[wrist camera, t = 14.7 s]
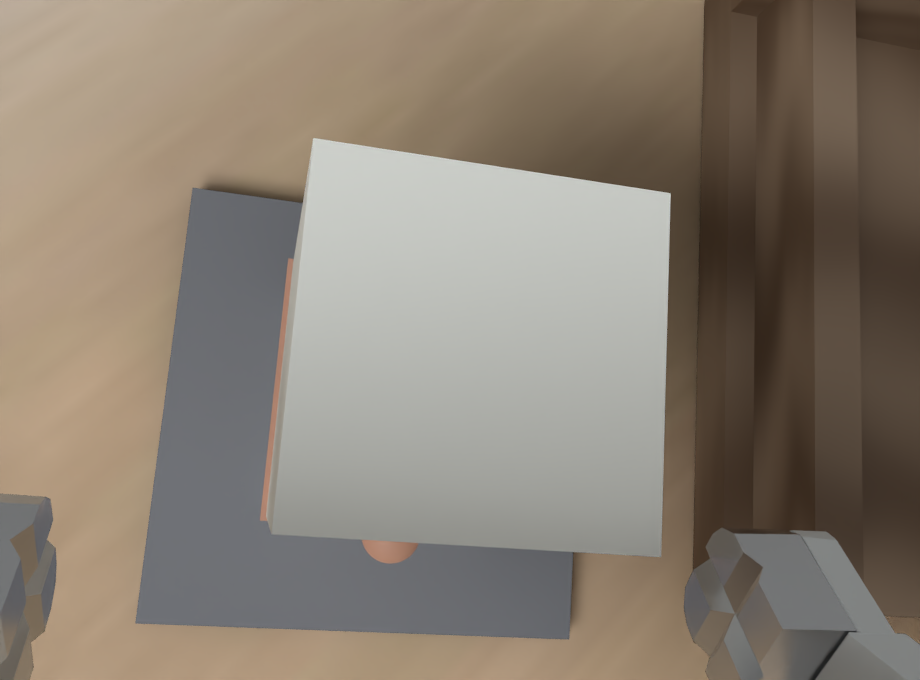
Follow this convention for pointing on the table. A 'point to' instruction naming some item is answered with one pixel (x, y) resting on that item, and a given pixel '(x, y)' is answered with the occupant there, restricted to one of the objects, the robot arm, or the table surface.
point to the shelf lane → (812, 281)
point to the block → (470, 359)
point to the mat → (243, 470)
